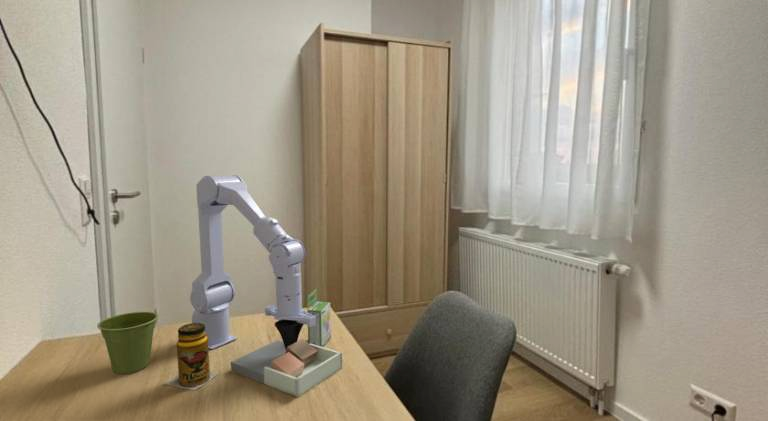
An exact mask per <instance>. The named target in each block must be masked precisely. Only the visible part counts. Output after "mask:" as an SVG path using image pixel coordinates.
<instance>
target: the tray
mask: <svg viewBox="0 0 768 421" xmlns="http://www.w3.org/2000/svg"><path fill="white" fill-rule="evenodd" d="M310 345H311V346H312V347H313V348H315V349H316V350H317V355H316V358H315V360H313V361H312V362H310V363H308V364H306V365H305V366H304V369H303V373H302V374H301V375H299V376H298V377H294V376H291V375H288V374H285V373H283V372H280V371H277V370H274V369H272V368H269V367H264V383H263V384H264V385H266V386H268V387H272V388H274V389H276V390H279V391H281V392H283V393H286V394H288V395H292V396H294V397H296V398H298V397H300V396H301V395H303V394H304V393H306V392H308V391H309V390H311V389H312V388H314V387H315V386H317V385H318V384H320V383H321V382H323V381H325V380H326V379H328V378H329V377H330V376H332V375H333V374H335V373H337V372H339V371H340V370H341V369H343V353H342V352H341V351H338V350H334V349H331V348H328V347H327V348H326V347H324V346H323V347H321V346H317V345H314V344H311V343H310Z"/></svg>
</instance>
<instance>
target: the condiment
mask: <svg viewBox="0 0 768 421" xmlns="http://www.w3.org/2000/svg"><path fill="white" fill-rule="evenodd" d="M177 333H178V334H177V335H178V336H177V342H176V354H177V355H176V356H177V368H178V373H177V375H176V376H174V377H172V378H170V379H169V380H167V381H166V382H164V383H163V385H166V386H171V387H175V388H180V389H184V390H190V391H196V390H198V389H199V388H201V387H203V386H204V385H206V384H207V383H209V381H212V379H213V378H215V377H217V376H218V375H219V374H220V373H219V372H214V371H210V370H211V368H210V355H209V353H210V352H209V351H210V350H209V349H208V338H207V336H206V335H205V334H206V331H205V325H204V324H202V323H192V322H191V323H187V324H184V325H182V326H180V327H179V328H178V329H177Z"/></svg>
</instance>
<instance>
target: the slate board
mask: <svg viewBox="0 0 768 421" xmlns="http://www.w3.org/2000/svg"><path fill="white" fill-rule="evenodd" d="M285 352H286V349H285V346H284V343H283V340H279V339H277V340H275V341H273V342H270V343H268V344H266V345H264V346H262V347H260V348H258V349H256V350H253V351H251V352H249V353H248V354H245V355H242V356H240V357H238V358H236V359H234V360H232V361H231V362H230V370H231V371H232V372H234V373H237V374H240V375H242V376H244V377H247V378H250V379H252V380H254V381H256V382H260V383H263V384H264V367H269V368H270V366H271V362H272V361H273V360H275V359H276V358H278V357H280V356H282V355H284V354H285Z"/></svg>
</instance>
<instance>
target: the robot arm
mask: <svg viewBox="0 0 768 421" xmlns="http://www.w3.org/2000/svg"><path fill="white" fill-rule="evenodd" d="M195 186H196V200H197V201H196V202H197V204H196V206H197V213H198V230H199V231H198V232H199V248H200V267H201V268H200V269H201V270H200V271H201V272H200V274H199V275H198V276H197V277H196V278H195V279H194V280H193V281H192V283H191V284H192V285H191V286H192V287H191V288H192V290H191V293H190V298H189V301H190V304H191V306H192V308H193V309H194V311H193V313H192V315H191V323H202V324H204V325H205V331H206V334H205V335H206V336H207V338H208V350H214V349H217V348H219V347H221V346H223V345H226V344H229V343H231V342H233V341H236V340H238V336H235V335H232V334H231V331H230V313H229V312H230V311H229V307H231V305H232V304H231V302H232V301H233V300H234V299H235V295H236V291H235V287H234V285H233V278H232V277H233V276H231V274H228V273H227V272H225V267H224V244H223V225H222V224H223V223H222V212H223V211H224V210H225V209H226V207H228V206H229V205H231V206H233V207H234V208H236V210H238V211H239V212H240V214H241V215H242V216H244V217H245V219H246V220H248V222H249V223H250V224H251V225H252V226H253V230H252V232H253V235H254V236H255V237H256V239H257V240H258V242H260V243H261V244H262V246H263V247H264V248H265V249H266V251H267V252H268V253H269V254H268V261H269V262H270V264H271V266H272V270H273V275H274V276H275V296H276V297H275V298H276V305H268V306H266V307H264V315H265V316H266V317H270V316H272V317H273V318H274V320H276V321H275V322H274V327H275V328H276V329H277V331H278V333H279V334H280V337H281V339H282V340H281V341H283V343H284V346H285V349H287V347H288V346H290V345H291V344H293V343H295V342H297V341H299V340H298V339H299V335H300V333H301V331H302V329H303V326H305V325H306V327H307V328H308V327H311V326H314V325H316V316H313V315H311V314H309V313H307V311H306V310H305V309H303V302H302V301H303V299H302V298H303V297H302V266H301V263H303V262H304V261H305V259H306V253H307V252H306V248H305V246H304V244H303V243H302V241H301V240H299V239H297V238H296V239H294V238H293V237H292V236H290V235H289V234H287V233H286V231H285V230H284V229H283V228H282V227H281V225H280V224H279V221H278V220H277V219H276V218H273V217H268V216H265V214H264V213H263V211H262V210H261V208H260V207H259V206H258V204H257V203H256V202H255V200H254V199H253V197H252V196H251V195H250V193H249V192H248V184H247V183H246V182H244V180H243V178H242V177H241V176H239V175H238V174H237V175H235V174H233V175H221V176H220V175H215V176H213V175H211V176H210V175H205V176H203V177H202V178H201V179H200V180H199V181H198V182H197V183H196V185H195Z"/></svg>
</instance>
